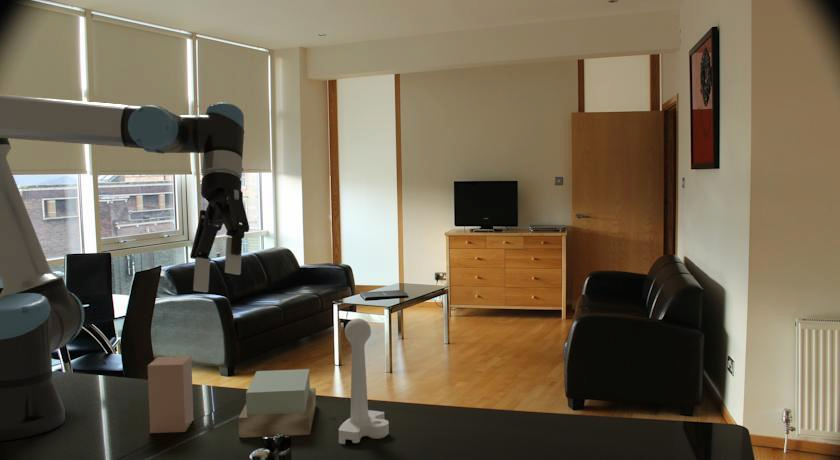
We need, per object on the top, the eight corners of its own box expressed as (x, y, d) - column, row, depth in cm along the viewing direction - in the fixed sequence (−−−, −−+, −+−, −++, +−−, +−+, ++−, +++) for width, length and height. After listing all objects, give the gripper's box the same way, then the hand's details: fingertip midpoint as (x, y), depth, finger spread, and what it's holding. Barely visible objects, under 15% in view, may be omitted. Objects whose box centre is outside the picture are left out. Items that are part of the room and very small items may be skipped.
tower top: (246, 415, 121) (246, 392, 120) (257, 391, 135) (256, 371, 134) (305, 412, 122) (304, 390, 121) (309, 389, 136) (309, 369, 135)
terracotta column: (150, 433, 123) (147, 365, 122) (160, 421, 129) (157, 357, 128) (185, 431, 123) (182, 364, 122) (193, 420, 129) (191, 356, 128)
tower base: (239, 440, 120) (238, 417, 120) (253, 410, 136) (252, 390, 136) (309, 437, 121) (309, 414, 121) (316, 408, 137) (315, 388, 136)
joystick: (362, 421, 127) (360, 312, 126) (400, 426, 124) (399, 314, 123) (332, 442, 117) (330, 324, 116) (373, 448, 114) (371, 326, 113)
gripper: (270, 159, 131) (267, 268, 123) (212, 203, 149) (206, 300, 141) (232, 149, 126) (227, 261, 119) (178, 195, 144) (170, 295, 137)
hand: (216, 282), depth 130 cm, fingers open, 13 cm apart
